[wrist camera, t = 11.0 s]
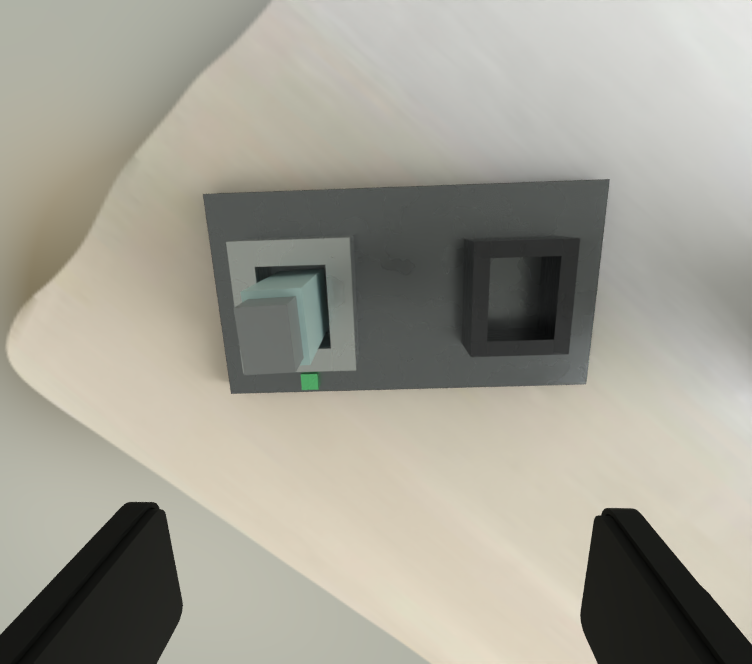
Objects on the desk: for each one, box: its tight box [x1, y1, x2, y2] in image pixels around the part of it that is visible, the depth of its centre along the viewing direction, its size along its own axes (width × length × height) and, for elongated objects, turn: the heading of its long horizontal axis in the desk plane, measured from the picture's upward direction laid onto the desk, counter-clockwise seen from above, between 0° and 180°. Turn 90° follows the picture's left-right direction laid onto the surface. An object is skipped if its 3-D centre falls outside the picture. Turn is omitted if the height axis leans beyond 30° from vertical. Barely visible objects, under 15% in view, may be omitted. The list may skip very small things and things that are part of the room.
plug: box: [233, 268, 329, 375], centre depth 23 cm, size 3×4×10 cm
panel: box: [203, 179, 610, 394], centre depth 27 cm, size 26×14×5 cm, turn 92°
